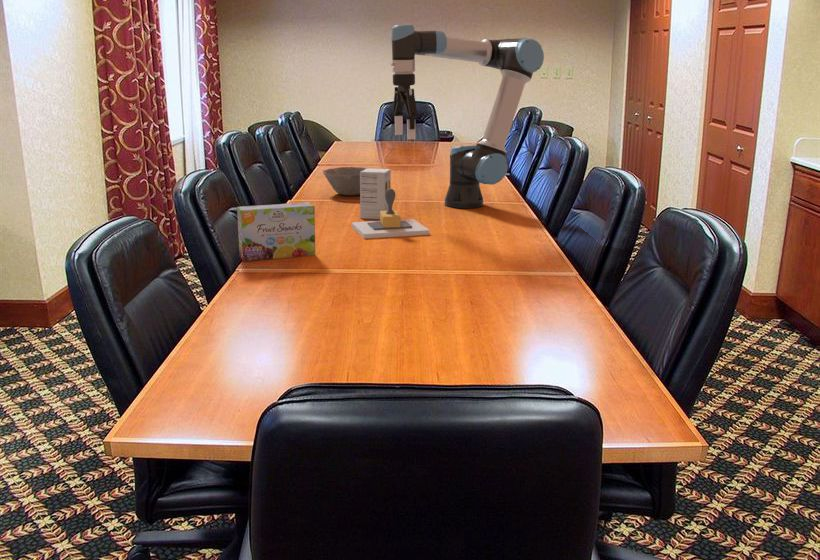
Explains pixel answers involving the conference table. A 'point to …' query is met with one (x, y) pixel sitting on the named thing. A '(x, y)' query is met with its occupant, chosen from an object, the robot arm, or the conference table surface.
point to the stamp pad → (389, 229)
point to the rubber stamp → (390, 212)
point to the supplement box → (373, 192)
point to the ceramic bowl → (344, 179)
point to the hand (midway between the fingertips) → (405, 137)
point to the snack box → (276, 231)
